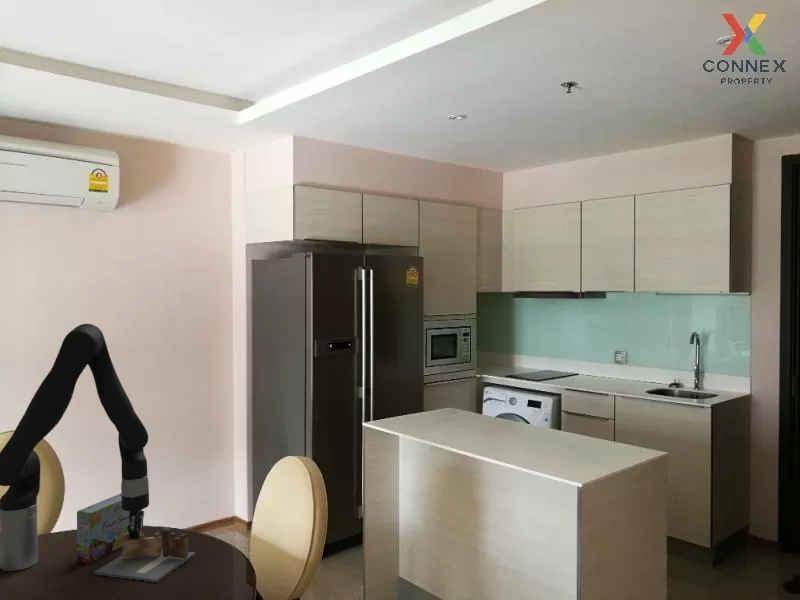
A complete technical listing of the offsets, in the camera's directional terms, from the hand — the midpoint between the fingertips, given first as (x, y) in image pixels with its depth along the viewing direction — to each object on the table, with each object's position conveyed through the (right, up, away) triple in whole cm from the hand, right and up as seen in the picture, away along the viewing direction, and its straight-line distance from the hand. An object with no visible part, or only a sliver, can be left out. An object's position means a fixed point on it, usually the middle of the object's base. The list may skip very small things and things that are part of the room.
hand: (136, 549), depth 185 cm
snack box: (-10, -2, +6) cm, 12 cm away
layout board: (+5, -2, -6) cm, 8 cm away
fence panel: (+3, -1, -3) cm, 4 cm away
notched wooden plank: (+12, -2, -3) cm, 13 cm away
